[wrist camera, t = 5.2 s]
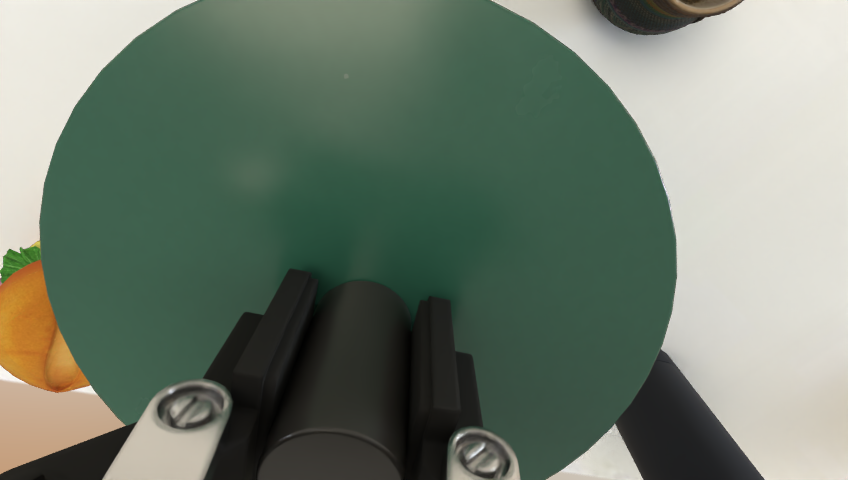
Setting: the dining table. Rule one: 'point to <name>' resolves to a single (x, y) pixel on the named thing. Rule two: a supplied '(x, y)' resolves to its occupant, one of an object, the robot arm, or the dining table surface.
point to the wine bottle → (679, 432)
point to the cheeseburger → (33, 327)
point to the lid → (363, 221)
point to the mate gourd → (660, 13)
